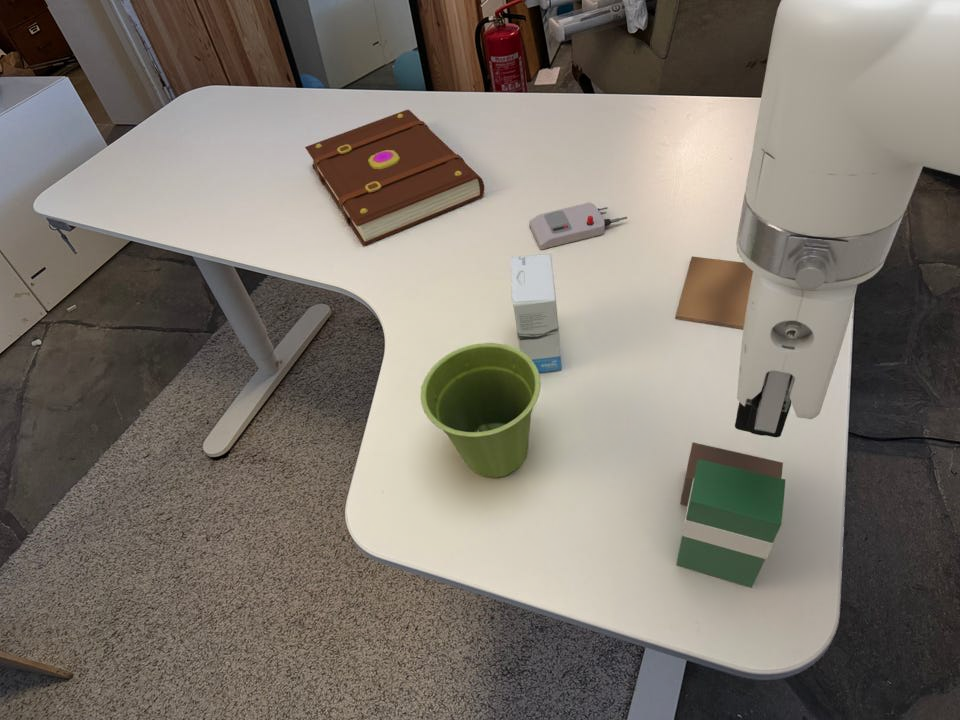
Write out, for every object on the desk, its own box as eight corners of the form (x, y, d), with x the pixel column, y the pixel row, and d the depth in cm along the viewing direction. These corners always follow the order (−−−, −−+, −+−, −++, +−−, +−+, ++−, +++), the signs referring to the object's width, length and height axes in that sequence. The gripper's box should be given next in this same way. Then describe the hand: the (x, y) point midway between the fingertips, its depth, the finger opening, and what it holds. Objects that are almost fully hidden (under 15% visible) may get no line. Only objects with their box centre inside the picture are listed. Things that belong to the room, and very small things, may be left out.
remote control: (518, 228, 94) (516, 212, 92) (614, 204, 94) (615, 188, 92) (528, 253, 89) (526, 236, 87) (630, 228, 90) (631, 211, 88)
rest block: (772, 490, 59) (783, 462, 55) (768, 527, 57) (779, 500, 53) (687, 469, 62) (692, 442, 58) (680, 504, 59) (685, 477, 56)
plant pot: (535, 398, 71) (525, 331, 63) (560, 484, 63) (553, 419, 55) (436, 420, 71) (415, 356, 63) (449, 509, 63) (426, 448, 55)
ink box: (562, 371, 73) (557, 299, 65) (521, 375, 74) (511, 304, 65) (557, 322, 79) (551, 250, 70) (519, 326, 79) (509, 255, 71)
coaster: (786, 271, 79) (787, 267, 78) (779, 334, 72) (780, 331, 71) (691, 259, 83) (691, 256, 83) (675, 318, 76) (675, 315, 76)
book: (362, 247, 97) (352, 221, 93) (311, 167, 117) (302, 143, 114) (487, 196, 101) (482, 169, 98) (417, 128, 122) (411, 103, 118)
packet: (693, 475, 59) (698, 455, 48) (767, 493, 57) (790, 477, 45) (675, 564, 57) (675, 566, 46) (750, 587, 55) (770, 594, 43)
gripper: (897, 331, 27) (805, 525, 40) (892, 156, 36) (818, 363, 49) (719, 306, 30) (688, 495, 43) (755, 150, 39) (720, 347, 52)
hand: (757, 425), depth 46 cm, fingers closed
